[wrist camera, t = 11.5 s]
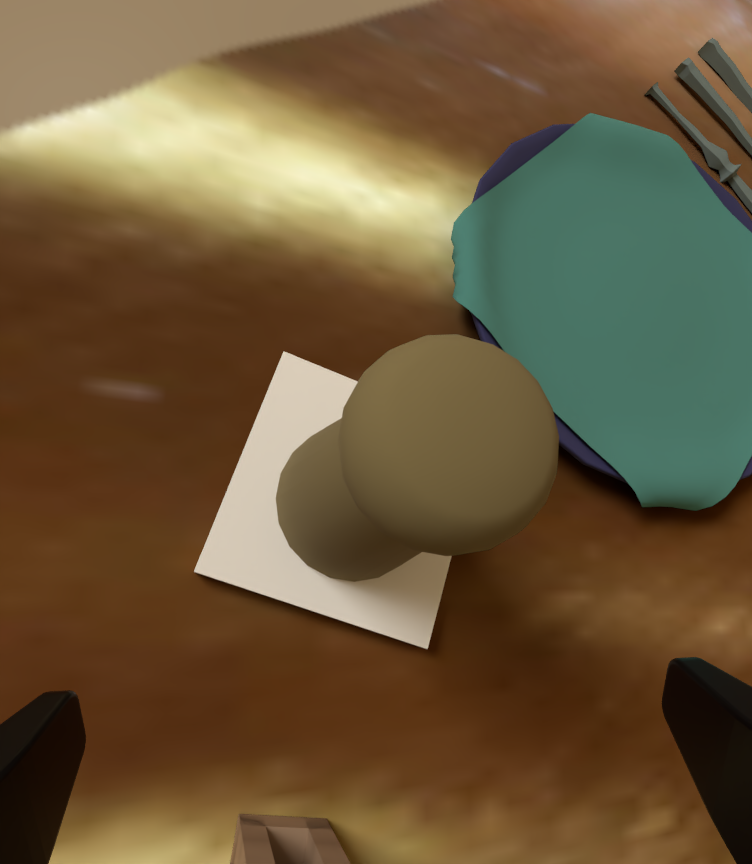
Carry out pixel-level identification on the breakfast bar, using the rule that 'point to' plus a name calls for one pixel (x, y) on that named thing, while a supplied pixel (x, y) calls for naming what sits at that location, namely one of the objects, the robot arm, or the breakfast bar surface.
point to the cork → (421, 461)
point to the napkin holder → (285, 841)
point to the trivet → (265, 542)
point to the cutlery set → (625, 292)
